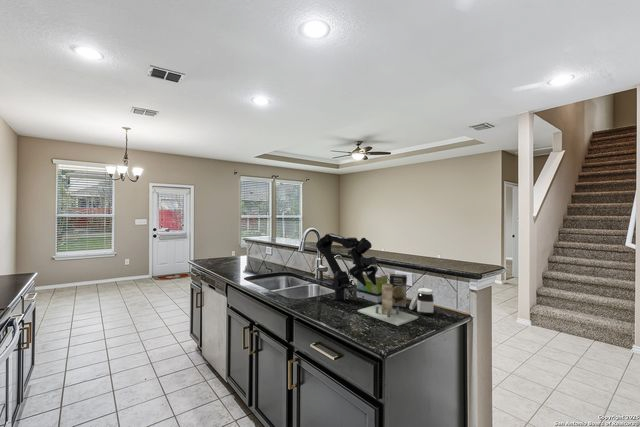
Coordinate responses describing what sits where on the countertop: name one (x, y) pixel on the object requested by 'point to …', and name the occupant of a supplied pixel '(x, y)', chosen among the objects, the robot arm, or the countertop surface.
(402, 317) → the standoff plate
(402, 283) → the coffee box
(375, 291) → the tea box
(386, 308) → the birch cylinder
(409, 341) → the countertop surface
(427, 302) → the spread jar
